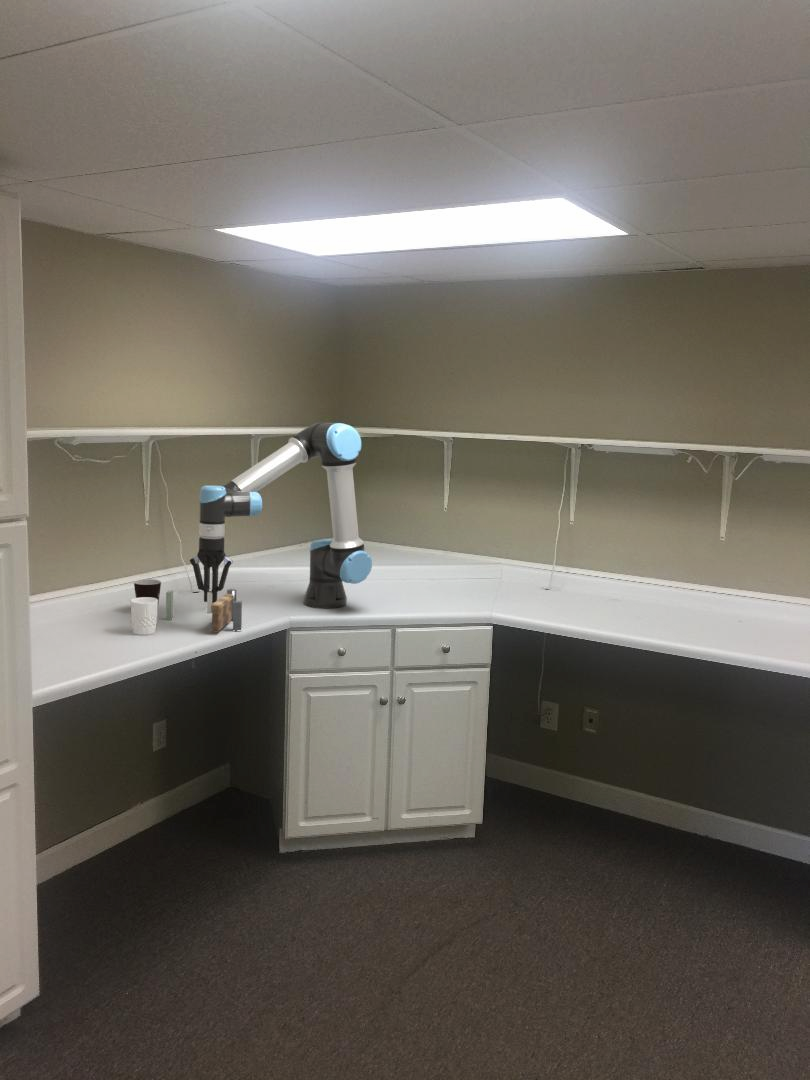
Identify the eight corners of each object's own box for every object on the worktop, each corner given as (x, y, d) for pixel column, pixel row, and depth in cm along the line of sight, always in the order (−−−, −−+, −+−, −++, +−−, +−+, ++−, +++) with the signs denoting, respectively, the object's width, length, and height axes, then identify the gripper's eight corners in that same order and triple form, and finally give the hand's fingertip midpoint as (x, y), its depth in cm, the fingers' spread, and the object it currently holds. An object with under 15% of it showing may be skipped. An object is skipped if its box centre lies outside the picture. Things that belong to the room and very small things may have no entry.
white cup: (132, 636, 256) (132, 603, 254) (129, 629, 263) (129, 597, 261) (159, 634, 259) (159, 602, 257) (156, 628, 266) (156, 596, 264)
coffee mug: (153, 615, 281) (153, 585, 279) (129, 613, 282) (128, 583, 281) (169, 607, 292) (169, 578, 290) (146, 605, 294) (146, 576, 292)
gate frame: (245, 619, 281) (246, 589, 280) (240, 631, 267) (241, 599, 265) (167, 617, 279) (168, 587, 277) (158, 629, 264) (158, 597, 263)
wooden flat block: (225, 618, 277) (225, 593, 275) (232, 619, 277) (233, 594, 275) (210, 631, 261) (210, 605, 260) (218, 632, 261) (218, 605, 259)
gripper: (187, 537, 259) (185, 614, 262) (230, 540, 258) (228, 616, 262) (194, 533, 266) (192, 608, 270) (235, 536, 266) (234, 610, 269)
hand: (210, 612), depth 266 cm, fingers closed
